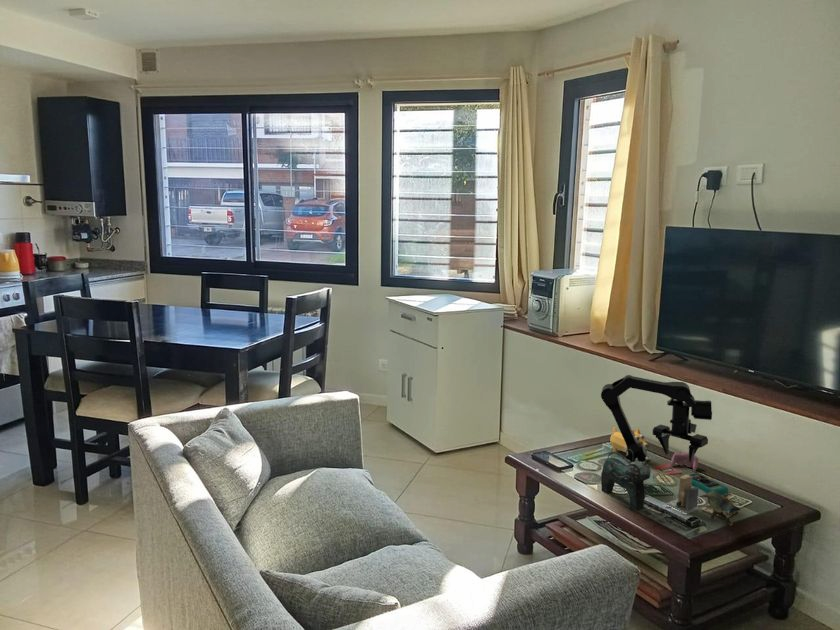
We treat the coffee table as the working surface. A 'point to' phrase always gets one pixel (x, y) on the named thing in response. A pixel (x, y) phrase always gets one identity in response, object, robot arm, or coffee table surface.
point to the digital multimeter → (707, 484)
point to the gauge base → (687, 501)
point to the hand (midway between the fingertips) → (678, 457)
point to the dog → (620, 443)
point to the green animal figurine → (626, 478)
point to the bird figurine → (720, 506)
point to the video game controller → (684, 455)
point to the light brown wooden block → (684, 489)
